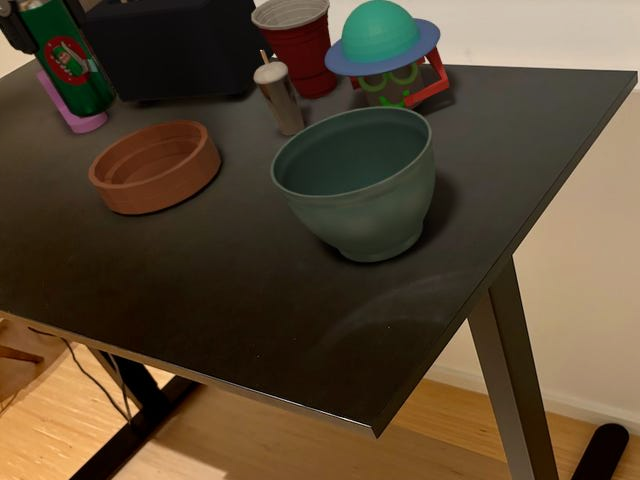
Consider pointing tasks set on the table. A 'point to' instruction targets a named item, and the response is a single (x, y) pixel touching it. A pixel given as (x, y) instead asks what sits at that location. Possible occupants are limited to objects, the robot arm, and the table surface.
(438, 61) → the toy robot
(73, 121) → the bracket
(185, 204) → the table surface
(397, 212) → the flower pot
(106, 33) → the speaker
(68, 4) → the robot arm
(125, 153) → the terracotta plant saucer
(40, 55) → the soda can
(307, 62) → the plastic cup
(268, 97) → the milkshake
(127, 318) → the table surface
